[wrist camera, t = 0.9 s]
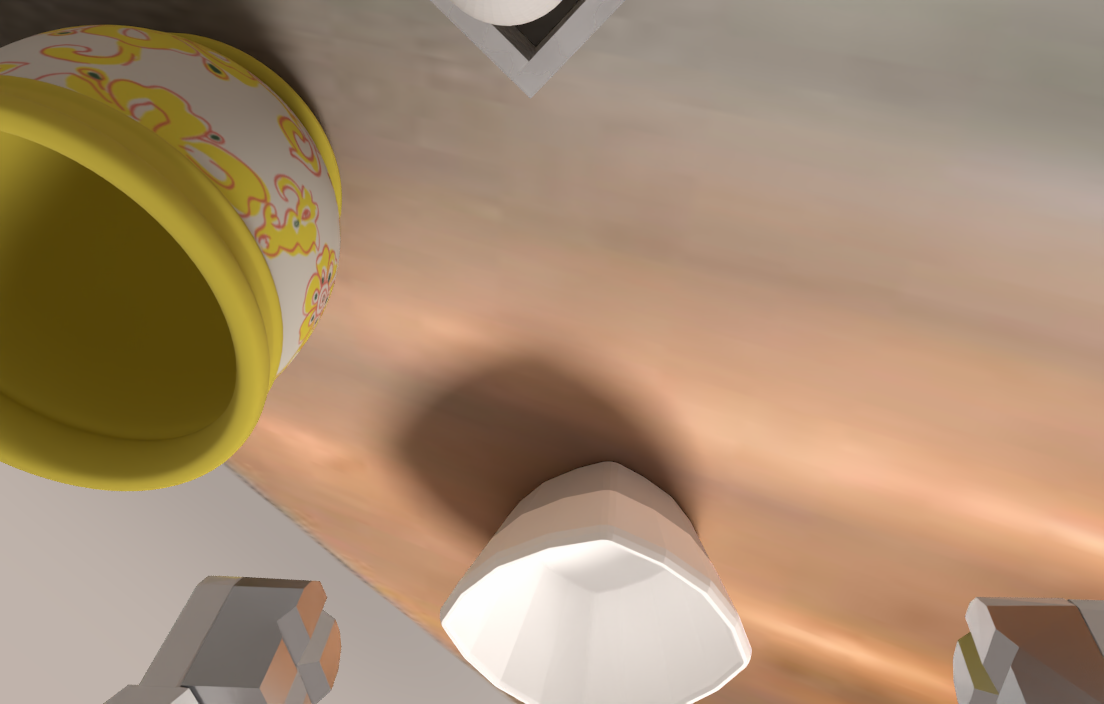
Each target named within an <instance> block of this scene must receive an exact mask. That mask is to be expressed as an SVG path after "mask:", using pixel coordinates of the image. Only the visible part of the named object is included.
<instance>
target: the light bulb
mask: <svg viewBox="0 0 1104 704" xmlns="http://www.w3.org/2000/svg"><path fill="white" fill-rule="evenodd" d="M451 1H452V2H453V3H454V4H455V5H456V6H457V7H458V8H460V9H461V10H462V11H463V12H465V13H466V14H468V15H470V16H472V17H473V18H475V19H478V20H480V21H483V22H485V23H490V24H494V25H503V26H512V25H520V24H524V23H528V22H531V21H534V20H536V19H538V18H540V17H542V16H544V15H545V14H547V13H548V12H550V11H551V10H552V9H554V8H555V7H556V6H557V5H558V4H559V3H560V2H561V1H562V0H451Z"/></svg>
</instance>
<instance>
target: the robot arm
mask: <svg viewBox="0 0 1104 704" xmlns="http://www.w3.org/2000/svg"><path fill="white" fill-rule="evenodd" d="M326 599H327V596H326V594H325V592H324V589H323V587H322V585H321V583H320V581H306V580H288V579H287V580H286V579H268V578H252V577H251V578H250V577H229V576H208V577H206V578H205V579H204V580H203V581H202V582H200V583H199V584H198V585H197V586H196V588H195V589H194V591H193V593H192V595H191V596H190V598H189V600H188V602H187V603H186V605H185V607H184V608H183V610H182V612H181V614H180V615H179V617H178V619H177V620H176V622H175V624H174V626H173V627H172V629H171V631H170V632H169V634H168V636H167V638H166V640H165V641H164V643H163V644H162V646H161V648H160V650H159V651H158V653H157V655H156V656H155V658H154V660H153V662H152V663H151V665H150V667H149V669H148V670H147V672H146V674H145V675H144V677H143V679H142V681H141V682H140V684H139V685H127V686H126V687H125V688H124V689H122V690H121V691H120V692H118V693H117V694H116V695H114V696H113V697H112V698H110V699H109V700H108V701H106V702H105V703H103V704H317V703H318V702H319V701H320V700H321V699H322V698H323V697H324V696H326V695H327V694H328V693H329V692H330V691H331V690H332V687H333V684H334V681H335V678H336V675H337V672H338V668H339V660H340V653H341V640H340V631H339V628H338V625H337V622H336V620H335V619H334V618H333V617H332V616H331V615H329V614H328V613H327V612H325V611H324V610H323V606H324V604H325V601H326ZM965 618H966V620H967V623H968V626H969V629H970V631H971V632H969V633H968V634H966V635H965V636H963V637H962V638H960V639H959V640H958V641H957V645H956V649H955V653H954V657H953V676H954V685H955V690H956V696H957V700H958V703H959V704H1104V600H1065V599H1063V598H1006V597H976V598H975V599H974V600H972V601H971V602H970V604H969V607H968V610H967V613H966V615H965Z"/></svg>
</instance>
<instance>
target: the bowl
mask: <svg viewBox="0 0 1104 704" xmlns="http://www.w3.org/2000/svg"><path fill="white" fill-rule="evenodd" d="M440 620H441V624H442V627H443V628H444V630H445V631H446V633H447V634H448V635H449V637H450V638H451V640H452V641H453V643H454V644H455V645H456V647H457V648H458V650H459V651H460V652H461V654H462V655H463V657H464V658H465V659H466V660H467V661H468V662H469V663H470V664H472V665H473V666H474V667H475V668H476V669H477V670H478V671H479V672H480V673H481V674H483V675H484V676H485V677H486V678H487V679H488V680H489V681H490V682H491V683H492V684H493V685H495V686H496V687H498V688H499V689H501V690H503V691H504V692H506V693H508V694H510V695H511V696H513V697H515V698H517V699H518V700H520V701H522V702H524V703H525V704H692V703H694V702H696V701H698V700H700V699H702V698H704V697H706V696H708V695H710V694H712V693H714V692H716V691H718V690H719V689H720V688H721V687H723V686H724V685H725V684H726V683H727V682H729V681H730V680H731V679H732V678H733V677H735V676H736V675H737V674H738V673H739V672H740V671H742V670H743V669H744V668H745V667H746V666H747V665H748V663H749V661H750V659H751V652H752V648H751V646H750V643H749V641H748V638H747V635H746V633H745V630H744V628H743V625H742V622H741V620H740V617H739V615H738V613H737V611H736V609H735V607H734V605H733V603H732V601H731V599H730V597H729V595H728V593H727V591H726V589H725V587H724V585H723V583H722V581H721V579H720V577H719V575H718V573H717V571H716V570H715V568H714V566H713V564H712V563H711V561H710V559H709V557H708V555H707V553H706V551H705V549H704V547H703V545H702V543H701V541H700V539H699V537H698V535H697V533H696V532H695V530H694V528H693V526H692V524H691V522H690V520H689V519H688V517H687V516H686V515H685V514H684V512H683V511H682V510H681V508H680V507H679V506H678V504H677V503H676V502H675V501H674V499H673V498H672V497H671V496H670V495H668V494H667V493H665V492H664V491H663V490H661V489H660V488H659V487H657V486H656V485H654V484H653V483H652V482H650V481H649V480H647V479H646V478H645V477H643V476H641V475H639V474H638V473H636V472H634V471H632V470H630V469H628V468H626V467H624V466H623V465H621V464H619V463H616V462H612V461H606V462H600V463H596V464H592V465H588V466H585V467H581V468H577V469H574V470H572V471H570V472H567V473H565V474H562V475H560V476H558V477H555V478H553V479H550V480H548V481H545V482H544V483H542V484H541V485H540V486H539V487H537V488H536V489H535V490H534V491H532V492H531V493H530V494H529V495H527V496H526V497H525V498H524V499H522V500H521V501H520V502H519V503H518V505H517V506H516V507H515V508H514V509H513V511H512V512H511V513H510V514H509V515H508V517H507V518H506V519H505V521H504V522H503V524H502V525H501V526H500V528H499V529H498V531H497V532H496V533H495V535H494V536H493V538H491V540H490V541H489V542H488V544H487V545H486V546H485V548H484V549H483V550H482V552H481V553H480V554H479V556H478V557H477V558H476V560H475V561H474V562H473V564H472V565H471V566H470V568H469V569H468V570H467V572H466V573H465V574H464V576H463V577H462V578H461V580H460V581H459V582H458V584H457V585H456V587H455V588H454V590H453V591H452V593H451V594H450V596H449V597H448V599H447V600H446V602H445V603H444V605H443V606H442V608H441V610H440Z"/></svg>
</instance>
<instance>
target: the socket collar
mask: <svg viewBox="0 0 1104 704" xmlns="http://www.w3.org/2000/svg"><path fill="white" fill-rule="evenodd" d="M430 1H431V2H432V3H433V4H434V5H435V6H436V7H437V8H438V9H439V10H440V11H441V12H442V13H443V14H444V15H446V16H447V17H448V18H449V19H450V20H451V21H452V22H453V23H454V24H455V25H456V26H457V27H458V28H459V29H460V30H461V31H462V32H463V33H464V34H465V35H466V36H467V37H468V38H469V39H470V40H471V41H472V42H473V43H474V44H475V45H476V46H477V47H478V48H479V49H480V50H481V51H482V52H483V53H484V54H485V55H486V56H487V57H488V58H489V59H490V60H491V61H493V62H494V63H495V64H496V65H497V66H498V67H499V68H500V69H501V70H502V71H503V72H504V73H505V74H506V75H507V76H508V77H509V78H510V79H511V80H512V81H513V82H514V83H515V84H516V85H517V86H518V87H519V88H520V89H521V90H522V91H523V92H524V93H525V94H526V95H527V96H528V97H529V98H530V99H531V98H532V97H533V96H534V95H535V94H536V92H537V91H538V90H539V89H540V88H541V87H542V86H543V85H544V84H545V83H546V82H547V81H548V80H549V79H550V78H551V77H552V76H553V75H554V74H555V73H556V72H557V71H558V70H559V69H560V68H561V66H562V65H563V64H564V63H565V62H566V61H567V60H568V59H569V58H570V57H571V56H572V55H573V54H574V53H575V52H576V51H577V50H578V49H579V48H580V47H581V46H582V45H583V44H584V43H585V42H586V40H587V39H588V38H589V37H590V36H591V35H592V34H593V33H594V32H595V31H596V30H597V29H598V28H599V27H600V26H601V25H602V24H603V23H604V22H605V21H606V20H607V19H608V18H609V17H610V16H611V14H612V13H613V12H614V11H615V10H616V9H617V8H618V7H619V6H620V5H621V4H622V3H623V2H624V1H625V0H579V1H578V2H577V4H576V5H575V6H574V7H573V8H572V9H571V10H570V11H569V12H568V13H567V14H566V15H565V16H564V18H563V19H562V20H561V21H560V22H559V23H558V24H557V25H556V26H555V27H554V28H553V29H552V31H551V32H550V33H549V34H548V35H547V36H546V37H545V38H544V39H543V40H542V41H541V42H540V44H539V45H538V46H537V47H535V46H534V45H533V44H532V43H531V42H530V41H529V40H528V39H527V38H526V37H525V36H524V35H523V34H522V33H521V32H520V31H519V30H518V29H517V28H516V27H515V26H514V25H512V26H503V25H494V24H490V23H485V22H483V21H480V20H478V19H475V18H473V17H472V16H470V15H468V14H466V13H465V12H463V11H462V10H461V9H460V8H458V7H457V6H456V5H455V4H454V3H453V2H452V1H451V0H430Z"/></svg>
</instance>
